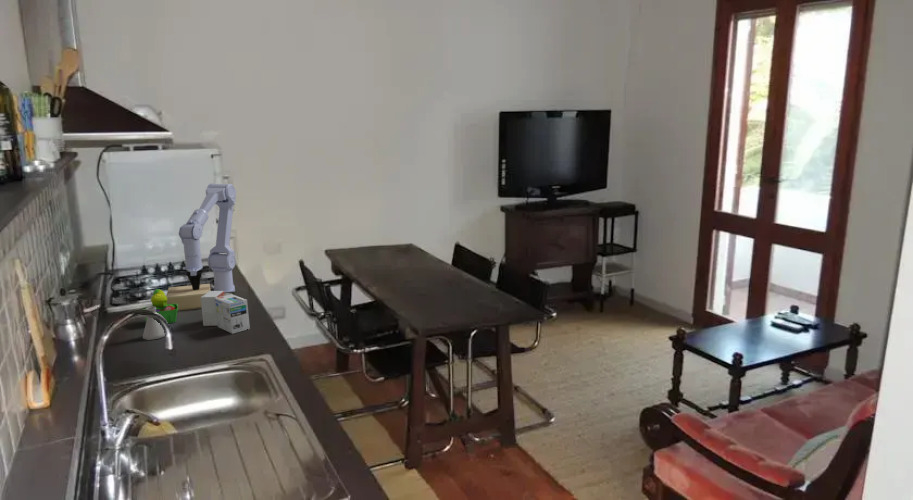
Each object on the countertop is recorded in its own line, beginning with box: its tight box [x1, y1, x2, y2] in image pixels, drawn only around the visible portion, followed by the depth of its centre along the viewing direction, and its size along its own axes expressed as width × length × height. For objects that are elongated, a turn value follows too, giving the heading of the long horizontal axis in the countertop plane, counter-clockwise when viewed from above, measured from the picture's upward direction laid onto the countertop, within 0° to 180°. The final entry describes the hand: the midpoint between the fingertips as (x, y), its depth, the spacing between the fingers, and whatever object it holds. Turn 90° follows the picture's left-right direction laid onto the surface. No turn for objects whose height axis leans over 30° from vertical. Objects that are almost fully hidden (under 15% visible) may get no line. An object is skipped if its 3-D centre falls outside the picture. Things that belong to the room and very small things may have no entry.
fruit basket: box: [142, 288, 178, 324], centre depth 227 cm, size 11×9×11 cm
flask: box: [142, 306, 166, 341], centre depth 213 cm, size 7×7×10 cm
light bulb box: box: [215, 293, 251, 334], centre depth 220 cm, size 11×7×11 cm, turn 47°
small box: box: [200, 290, 226, 327], centre depth 226 cm, size 8×6×10 cm
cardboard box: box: [167, 289, 212, 312], centre depth 247 cm, size 14×15×5 cm
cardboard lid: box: [165, 283, 211, 299], centre depth 247 cm, size 14×15×1 cm
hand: (196, 289), depth 247 cm, fingers closed, pressing on cardboard lid
